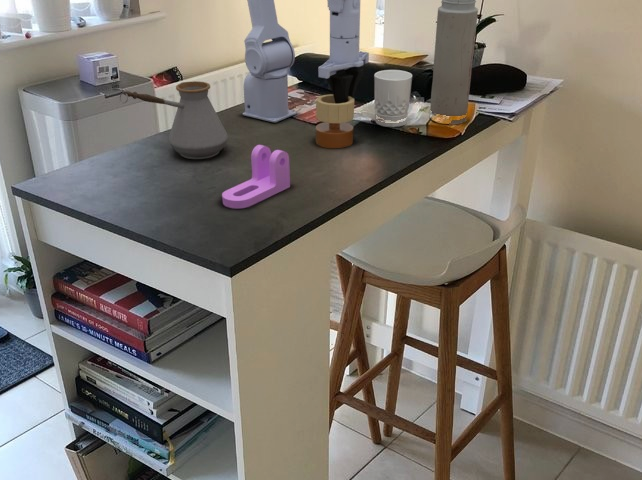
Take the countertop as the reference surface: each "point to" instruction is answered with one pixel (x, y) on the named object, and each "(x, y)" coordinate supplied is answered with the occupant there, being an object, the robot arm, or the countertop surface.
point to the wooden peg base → (334, 135)
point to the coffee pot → (192, 121)
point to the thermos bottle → (453, 58)
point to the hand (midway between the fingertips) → (343, 107)
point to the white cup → (392, 96)
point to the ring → (334, 110)
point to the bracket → (260, 179)
